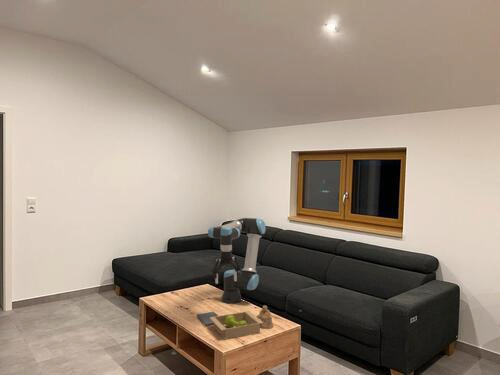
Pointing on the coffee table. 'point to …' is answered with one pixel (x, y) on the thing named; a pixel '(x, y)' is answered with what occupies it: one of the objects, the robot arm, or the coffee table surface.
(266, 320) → the statue
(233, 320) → the dumbbell
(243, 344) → the coffee table surface
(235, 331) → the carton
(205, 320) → the mat
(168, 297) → the coffee table surface
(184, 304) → the coffee table surface
